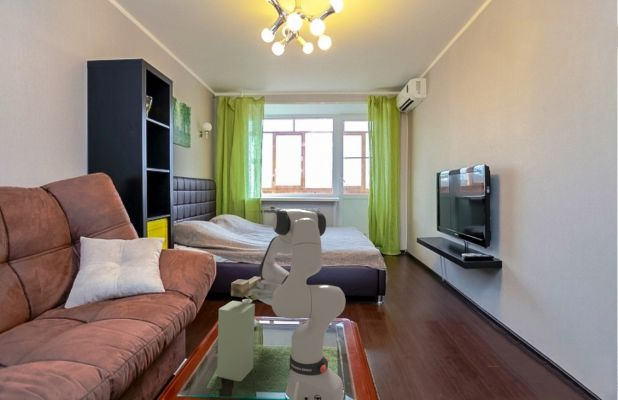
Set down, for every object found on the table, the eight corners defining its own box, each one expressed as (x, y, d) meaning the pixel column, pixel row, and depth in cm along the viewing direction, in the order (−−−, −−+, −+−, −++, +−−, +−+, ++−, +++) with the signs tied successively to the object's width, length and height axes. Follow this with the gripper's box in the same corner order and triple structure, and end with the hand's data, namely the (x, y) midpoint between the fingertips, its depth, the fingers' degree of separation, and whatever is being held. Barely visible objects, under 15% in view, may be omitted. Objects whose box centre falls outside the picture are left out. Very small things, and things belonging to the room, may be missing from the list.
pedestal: (253, 368, 134) (254, 304, 133) (240, 381, 125) (242, 313, 124) (230, 363, 137) (232, 300, 136) (217, 376, 128) (218, 309, 127)
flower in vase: (230, 327, 171) (231, 279, 170) (246, 320, 180) (247, 274, 179) (248, 335, 163) (249, 284, 162) (264, 327, 173) (266, 279, 172)
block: (262, 284, 146) (263, 272, 146) (242, 297, 129) (242, 284, 128) (252, 282, 147) (252, 271, 147) (231, 295, 130) (231, 282, 130)
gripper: (244, 280, 157) (231, 272, 145) (285, 286, 151) (275, 278, 139) (241, 294, 155) (227, 287, 143) (282, 300, 148) (272, 293, 137)
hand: (251, 282), depth 141 cm, fingers closed on block, 3 cm apart
